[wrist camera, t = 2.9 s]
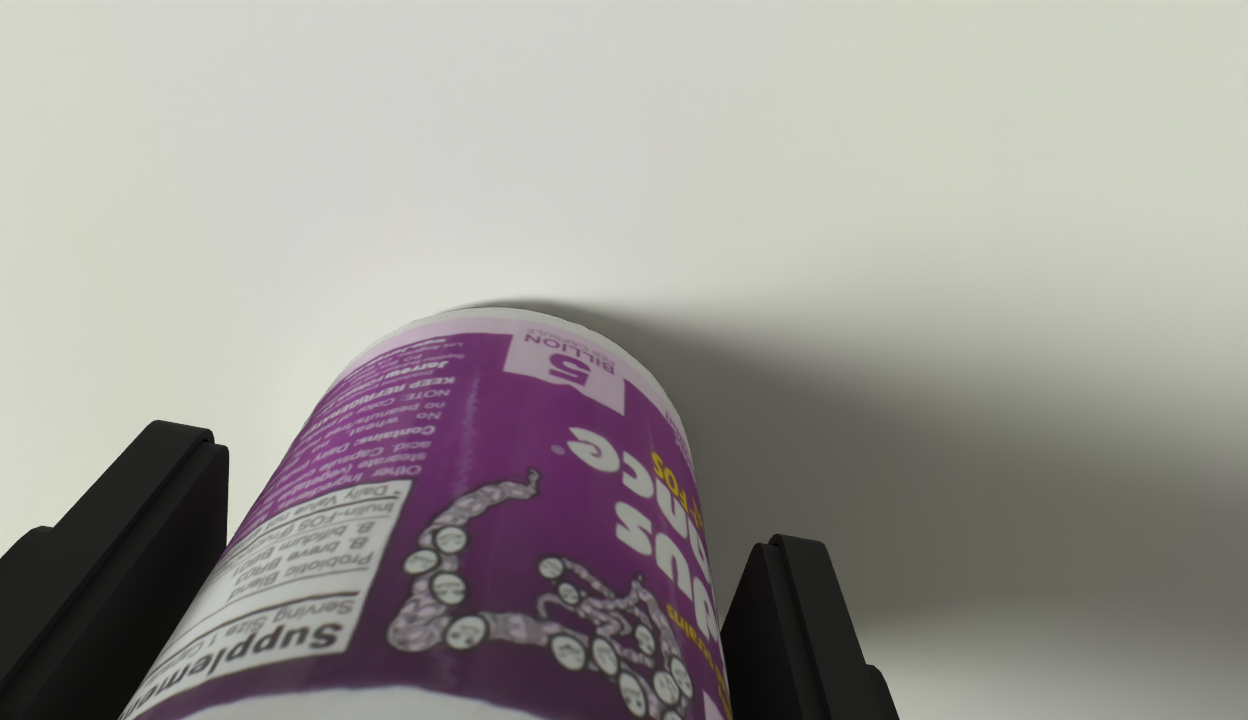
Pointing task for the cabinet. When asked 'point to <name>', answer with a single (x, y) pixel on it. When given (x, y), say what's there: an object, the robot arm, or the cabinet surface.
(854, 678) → the robot arm
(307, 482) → the pill bottle
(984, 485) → the cabinet surface
